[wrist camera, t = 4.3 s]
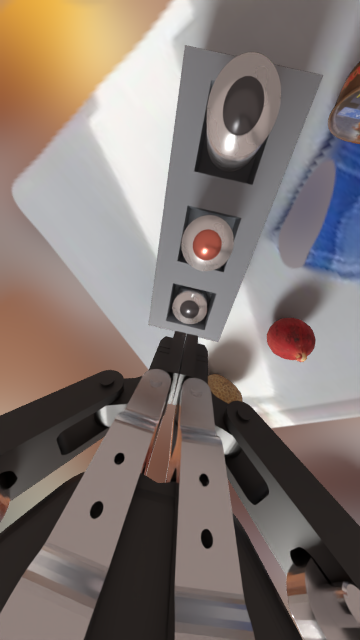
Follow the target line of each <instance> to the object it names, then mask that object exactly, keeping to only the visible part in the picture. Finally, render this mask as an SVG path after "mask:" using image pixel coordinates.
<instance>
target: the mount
mask: <svg viewBox="0 0 360 640" xmlns="http://www.w3.org/2000/svg"><path fill="white" fill-rule="evenodd" d="M235 57H237V56H233V55H228V54H223V53H219V52H214V51H210V50H205V49H200V48H196V47H191V46H187V45H185V50H184V58H183V65H182V73H181V80H180V88H179V96H178V103H177V111H176V119H175V126H174V134H173V141H172V149H171V157H170V164H169V172H168V180H167V187H166V195H165V202H164V210H163V218H162V225H161V233H160V241H159V248H158V256H157V263H156V271H155V279H154V286H153V294H152V302H151V309H150V317H149V324H148V325H151V326H155V327H159V328H164V329H168V330H172V331H179V332H184V333H186V334H187V333H188V334H193V335H197V336H198V337H200V338H204V339H208V340H212V341H216V342H218V341H219V339H220V336H221V334H222V331H223V329H224V326H225V323H226V321H227V318H228V316H229V313H230V311H231V308H232V306H233V303H234V301H235V298H236V296H237V293H238V290H239V288H240V285H241V283H242V280H243V278H244V275H245V273H246V270H247V268H248V265H249V262H250V260H251V257H252V255H253V252H254V250H255V247H256V245H257V242H258V240H259V237H260V234H261V232H262V229H263V227H264V224H265V222H266V219H267V217H268V214H269V212H270V209H271V207H272V204H273V201H274V199H275V196H276V194H277V191H278V189H279V186H280V184H281V181H282V179H283V176H284V173H285V171H286V168H287V166H288V163H289V161H290V158H291V156H292V153H293V151H294V148H295V145H296V143H297V140H298V138H299V135H300V133H301V130H302V128H303V125H304V123H305V120H306V118H307V115H308V112H309V110H310V107H311V105H312V102H313V100H314V97H315V95H316V92H317V90H318V87H319V84H320V82H321V79H322V77H323V75H320V74H315V73H311V72H306V71H302V70H297V69H292V68H288V67H283V66H279V65H274V66H275V68H276V70H277V72H278V75H279V79H280V85H281V101H280V108H279V112H278V115H277V118H276V121H275V124H274V126H273V128H272V130H271V131H270V133H269V135H268V136H267V138H266V139H265V141H264V142H263V143H262V145H261V146H260V148H259V149H258V151H257V152H256V154H255V155H254V156H253V158H252V159H251V160H250V161H249V163H247V164H246V165H245V166H244V167H242V168H241V169H239V170H236V171H230V172H228V171H223V170H221V169H219V168H218V167H216V166H215V165H214V163H213V162H212V161H211V159H210V156H209V154H208V150H207V106H208V100H209V96H210V92H211V89H212V87H213V84H214V82H215V80H216V78H217V77H218V75H219V74H220V72H221V71H222V69H223V68H224V67H225V66H226V65H227V64H228V63H229V62H230V61H231V60H232V59H234V58H235ZM205 215H214V216H217V217H220V218H222V219H223V220H224V221H225V222H227V224H228V225H229V226H230V228H231V230H232V233H233V237H234V246H233V250H232V253H231V255H230V257H229V259H228V260H227V261H226V262H225V264H223V265H222V266H221V267H219V268H217V269H215V270H212V271H200V270H197V269H195V268H193V267H192V266H190V265H189V264H188V263H187V261H186V260H185V258H184V256H183V253H182V247H181V243H182V237H183V234H184V232H185V230H186V228H187V227H188V225H189V224H190V223H191V222H192V221H193V220H195V219H196V218H199V217H201V216H205ZM182 286H187V287H191V288H195V289H200V290H204V291H206V293H207V313H206V315H205V317H204V318H203V319H202V320H201V321H200V322H198V323H195V324H186V323H183V322H181V321H179V320H178V319H177V318H176V317H175V315H174V313H173V309H172V306H173V302H174V300H175V298H176V295H177V293H178V291H179V289H180V288H181V287H182Z"/></svg>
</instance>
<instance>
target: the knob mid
mask: <svg viewBox="0 0 360 640" xmlns="http://www.w3.org/2000/svg"><path fill="white" fill-rule="evenodd" d="M233 246H234V237H233V233H232V230H231V228H230V226H229V225H228V224H227V222H225V221H224V220H223V219H222V218H220V217H217V216H214V215H205V216H201V217H199V218H196V219H195V220H193V221H192V222H191V223H190V224H189V225H188V227H187V228H186V230H185V232H184V234H183V237H182V243H181V247H182V253H183V256H184V258H185V260H186V261H187V263H188V264H189V265H190V266H192V267H193V268H195V269H197V270H200V271H212V270H215V269H217V268H219V267H221V266H222V265H223V264H225V262H226V261H227V260H228V259H229V257H230V255H231V253H232V250H233Z"/></svg>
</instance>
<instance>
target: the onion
mask: <svg viewBox="0 0 360 640" xmlns="http://www.w3.org/2000/svg"><path fill="white" fill-rule="evenodd" d="M315 340H316V339H315V336H314V333H313V330H312V329H311V327H310V326H308V325H307V324H306V323H305V322H303V321H302V320H299V319H295V318H282V319H280V320H278V321H276V322H274V324H273V325H272V326H271V327H270V328H269V331H268V333H267V342H268V345H269V347H270V348H271V350H272V352H273V353H275V354H276V355H278V356H280V357H281V358H284V359H289V360H297V361H299V362H304V361H305V360H306V359H307V356H308V355H309V354H310V353H311V352H312V351H313V349H314V347H315Z"/></svg>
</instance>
